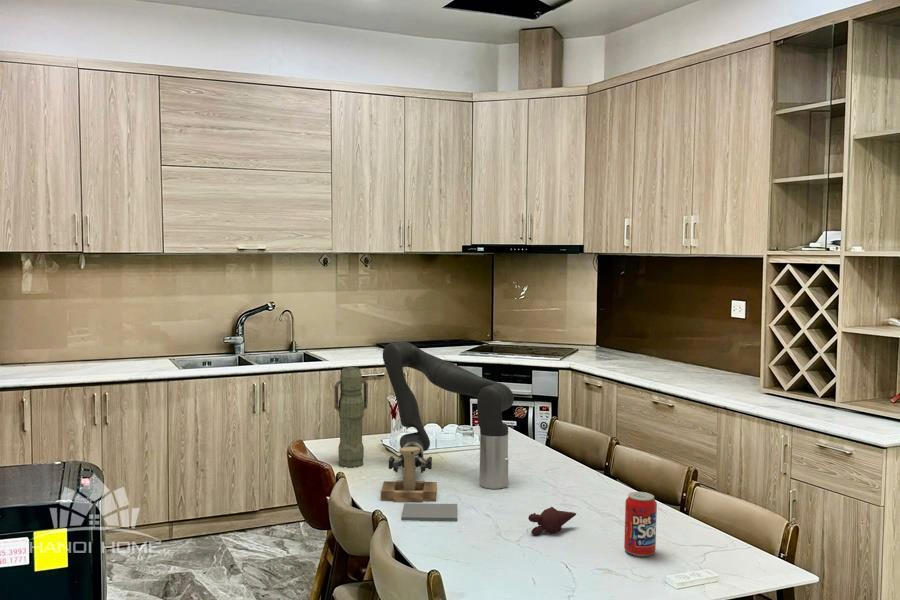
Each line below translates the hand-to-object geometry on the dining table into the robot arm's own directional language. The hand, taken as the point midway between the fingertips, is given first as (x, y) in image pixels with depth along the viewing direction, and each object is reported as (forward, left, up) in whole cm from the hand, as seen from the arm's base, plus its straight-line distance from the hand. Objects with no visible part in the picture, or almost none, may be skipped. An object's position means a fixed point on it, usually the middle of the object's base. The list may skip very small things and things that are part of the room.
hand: (409, 469), depth 239 cm
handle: (0, -2, -9) cm, 9 cm away
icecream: (-41, +27, -9) cm, 50 cm away
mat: (-7, +14, -9) cm, 18 cm away
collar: (0, -2, -9) cm, 9 cm away
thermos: (+23, -36, -9) cm, 44 cm away
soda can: (-62, +41, -9) cm, 75 cm away
